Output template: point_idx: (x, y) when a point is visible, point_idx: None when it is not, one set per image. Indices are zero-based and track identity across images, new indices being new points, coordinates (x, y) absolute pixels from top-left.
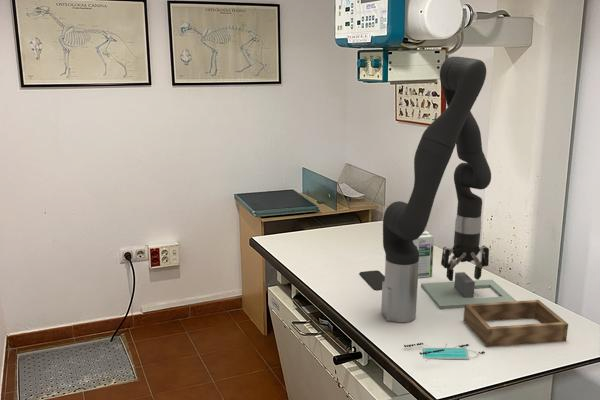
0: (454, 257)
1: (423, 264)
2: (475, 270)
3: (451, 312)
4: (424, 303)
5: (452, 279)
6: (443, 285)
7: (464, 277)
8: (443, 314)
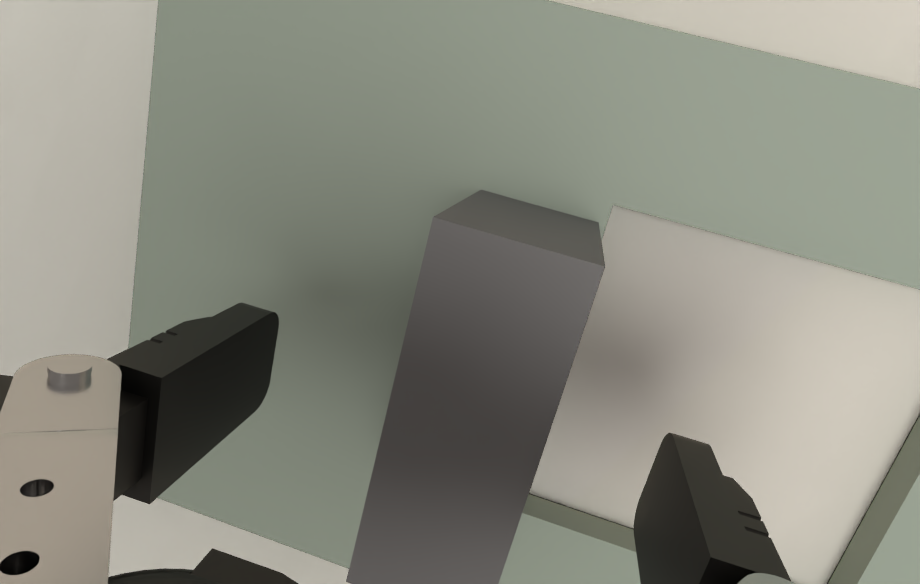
0: (51, 507)
1: None
2: (680, 534)
3: (199, 548)
4: (66, 321)
5: (245, 414)
6: (392, 82)
7: (449, 447)
8: (127, 543)
